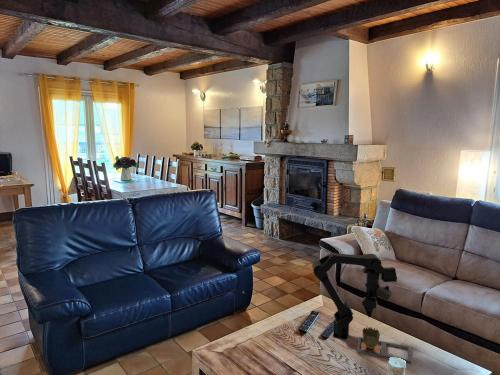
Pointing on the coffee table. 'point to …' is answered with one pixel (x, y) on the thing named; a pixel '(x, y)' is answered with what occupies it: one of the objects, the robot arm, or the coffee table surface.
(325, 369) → the coffee table surface
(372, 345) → the bronze ornate bell
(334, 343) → the coffee table surface
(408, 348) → the grey double frame
